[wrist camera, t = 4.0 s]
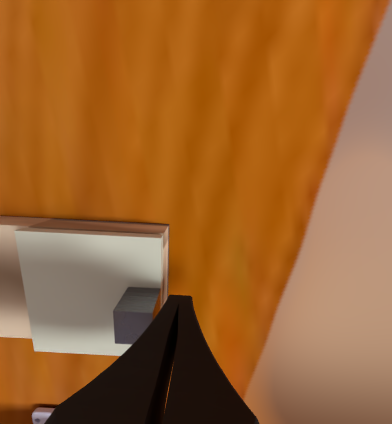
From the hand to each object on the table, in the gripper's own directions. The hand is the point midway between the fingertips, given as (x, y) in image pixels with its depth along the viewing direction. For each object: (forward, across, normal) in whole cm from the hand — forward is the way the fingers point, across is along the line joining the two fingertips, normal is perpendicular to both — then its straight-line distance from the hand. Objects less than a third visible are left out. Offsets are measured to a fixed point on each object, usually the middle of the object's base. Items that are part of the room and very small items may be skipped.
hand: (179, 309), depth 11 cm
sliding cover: (+1, +6, 0) cm, 6 cm away
